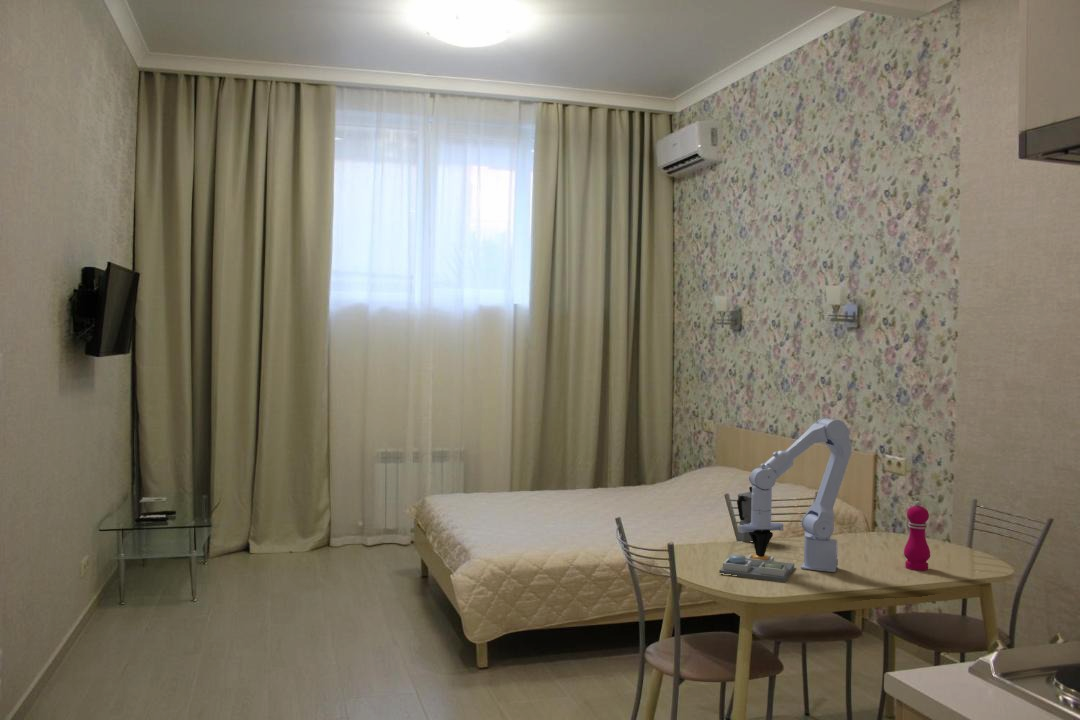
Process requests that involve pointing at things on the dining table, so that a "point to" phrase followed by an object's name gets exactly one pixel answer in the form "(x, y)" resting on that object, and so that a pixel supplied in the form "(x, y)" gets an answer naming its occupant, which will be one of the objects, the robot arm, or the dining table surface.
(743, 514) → the coffeepot
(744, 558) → the button blue
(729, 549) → the dining table surface
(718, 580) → the dining table surface
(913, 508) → the pepper mill
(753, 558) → the button orange
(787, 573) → the control board
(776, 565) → the button sage
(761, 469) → the robot arm
